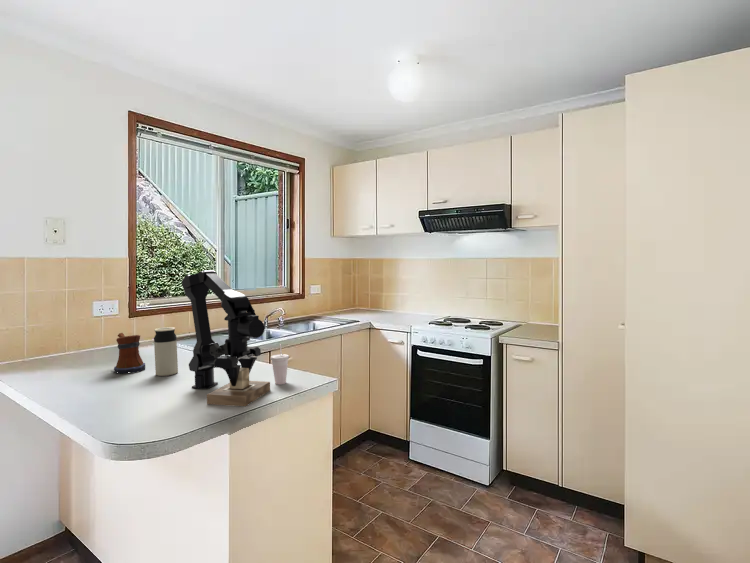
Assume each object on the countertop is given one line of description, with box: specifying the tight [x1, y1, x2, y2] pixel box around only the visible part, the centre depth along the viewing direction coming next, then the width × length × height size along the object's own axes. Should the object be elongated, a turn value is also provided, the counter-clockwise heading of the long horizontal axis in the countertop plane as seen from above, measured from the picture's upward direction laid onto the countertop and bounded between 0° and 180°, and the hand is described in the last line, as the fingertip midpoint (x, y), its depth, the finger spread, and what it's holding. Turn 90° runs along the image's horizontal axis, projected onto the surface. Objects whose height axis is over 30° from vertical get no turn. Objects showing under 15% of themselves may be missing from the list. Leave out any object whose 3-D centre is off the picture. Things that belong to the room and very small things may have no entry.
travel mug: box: [153, 326, 179, 377], centre depth 170 cm, size 8×8×18 cm
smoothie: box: [270, 343, 290, 385], centre depth 154 cm, size 6×6×14 cm
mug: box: [113, 332, 146, 374], centre depth 179 cm, size 18×12×15 cm, turn 43°
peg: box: [229, 367, 250, 390], centre depth 139 cm, size 4×4×9 cm
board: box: [206, 380, 271, 407], centre depth 139 cm, size 16×13×3 cm
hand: (239, 383), depth 139 cm, fingers open, 6 cm apart
